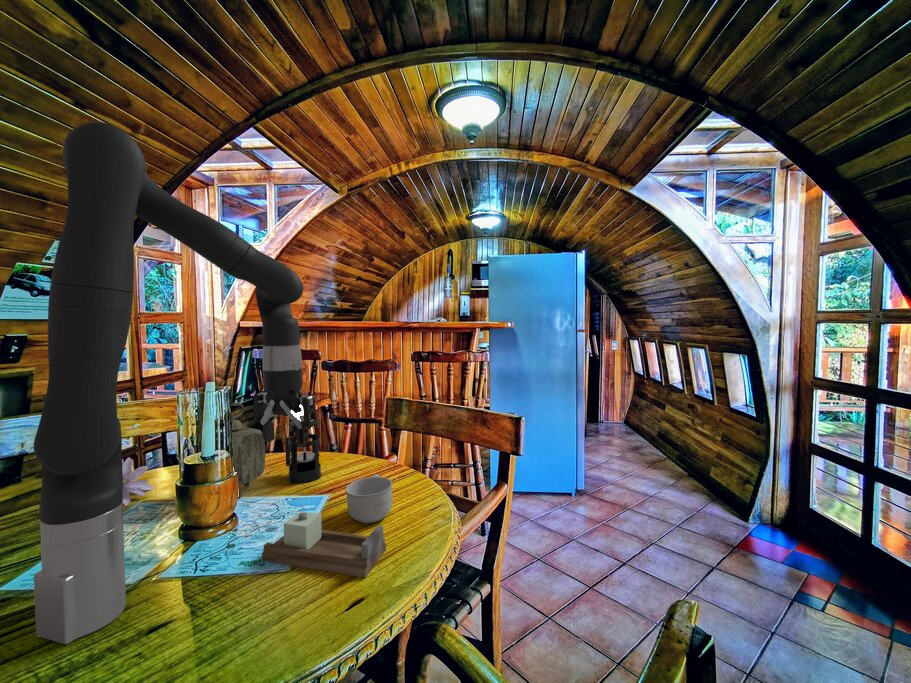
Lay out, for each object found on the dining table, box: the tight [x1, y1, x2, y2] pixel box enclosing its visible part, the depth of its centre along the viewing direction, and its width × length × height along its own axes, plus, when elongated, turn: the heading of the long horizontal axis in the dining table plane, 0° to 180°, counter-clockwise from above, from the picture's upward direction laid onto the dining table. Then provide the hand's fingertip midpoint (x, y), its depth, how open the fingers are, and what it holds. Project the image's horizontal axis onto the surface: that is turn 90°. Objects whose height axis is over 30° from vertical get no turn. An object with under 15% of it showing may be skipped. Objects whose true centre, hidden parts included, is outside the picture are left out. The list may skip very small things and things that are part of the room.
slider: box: [283, 510, 322, 549], centre depth 79 cm, size 5×5×6 cm
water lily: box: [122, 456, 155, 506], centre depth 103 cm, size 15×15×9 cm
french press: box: [285, 403, 322, 485], centre depth 117 cm, size 12×9×23 cm
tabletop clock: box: [230, 402, 266, 499], centre depth 104 cm, size 14×9×25 cm, turn 152°
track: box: [261, 525, 387, 578], centre depth 78 cm, size 9×22×6 cm, turn 77°
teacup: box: [345, 474, 393, 524], centre depth 95 cm, size 14×11×8 cm
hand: (285, 443), depth 83 cm, fingers open, 8 cm apart
